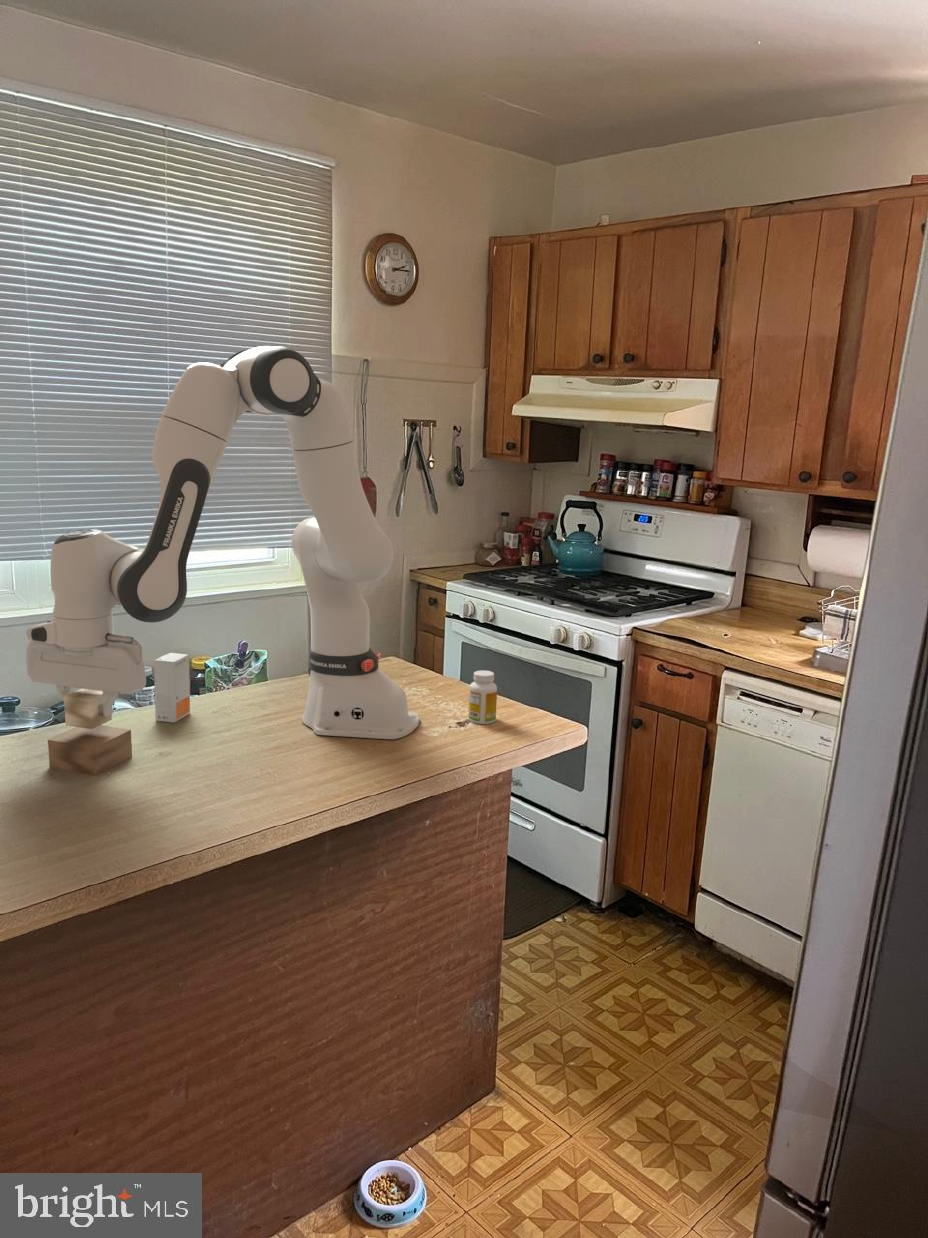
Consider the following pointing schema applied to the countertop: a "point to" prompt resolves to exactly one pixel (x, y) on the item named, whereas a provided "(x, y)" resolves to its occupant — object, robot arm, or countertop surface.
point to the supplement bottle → (483, 698)
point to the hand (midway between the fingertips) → (88, 713)
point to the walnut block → (90, 749)
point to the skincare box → (172, 687)
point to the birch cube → (84, 709)
